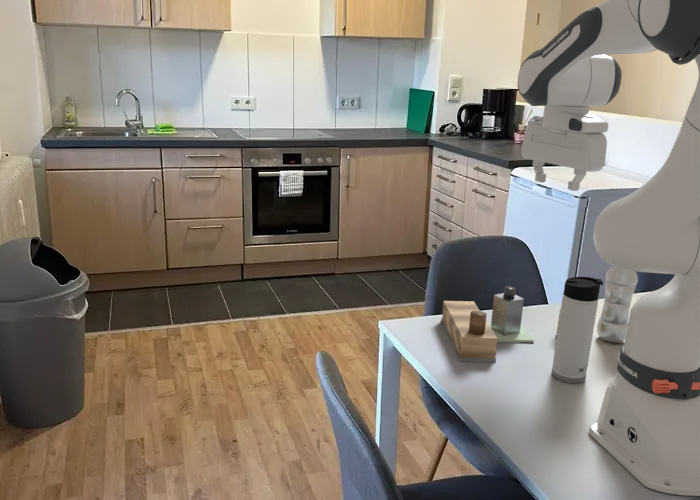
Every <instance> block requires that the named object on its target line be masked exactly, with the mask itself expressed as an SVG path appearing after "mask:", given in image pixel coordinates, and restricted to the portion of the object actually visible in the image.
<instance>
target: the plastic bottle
mask: <svg viewBox="0 0 700 500" xmlns="http://www.w3.org/2000/svg"><path fill="white" fill-rule="evenodd" d="M638 282H639V279H638V274H637V271H633V270H629V269H625V268H621V267H618V266H614V265H612V266H611V267H610V268H609V269H608V270H607V271H606V274H605V292H604V293H605V294H604V300H603V306H602V309H601V314H600V316H599V317H600V318H598V322H597V325H596V333H597V335H598V337H599V339H601V340H603V341H605V342H608V343H613V344H614V343H616V344H618V343H620V344H621V343H622V342H625V338H626V333H627V327H628V322H629V316H630V307H631V303H632V299H633V296H634V292H635V289H636V287H637V285H638Z"/></svg>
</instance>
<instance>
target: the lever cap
mask: <svg viewBox="0 0 700 500" xmlns="http://www.w3.org/2000/svg"><path fill="white" fill-rule="evenodd" d="M516 289H517V288H516V287H515V286H510V285H509V286H507V285H506V286H504V289H503V292H502V293H497V294H493V295H494V296H493V303H492V312H491V313H492V314H491V320H490V321H491V329H493V330H495V331H496V332H498V333H500V334H502V335H503V336H506V335H511V334H515V333H520V326H521V324H522V318H523V310H524V309H523V308H524V302H525V298H523V297H521V296H519V295H517V294H516V291H517V290H516Z"/></svg>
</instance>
